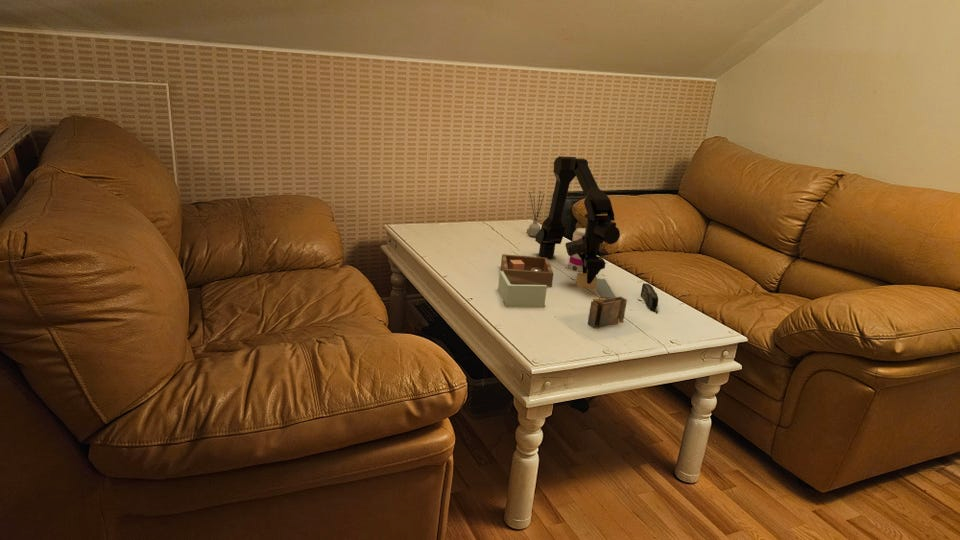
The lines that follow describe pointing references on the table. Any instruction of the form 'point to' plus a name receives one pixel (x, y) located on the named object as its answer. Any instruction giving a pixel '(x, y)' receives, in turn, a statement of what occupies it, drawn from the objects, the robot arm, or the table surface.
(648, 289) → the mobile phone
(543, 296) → the right angle wall
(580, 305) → the table surface
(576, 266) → the supplement can
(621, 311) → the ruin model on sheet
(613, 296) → the lid
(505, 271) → the box
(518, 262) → the terracotta cube
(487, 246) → the table surface
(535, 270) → the grey metal cylinder
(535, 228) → the reed diffuser
